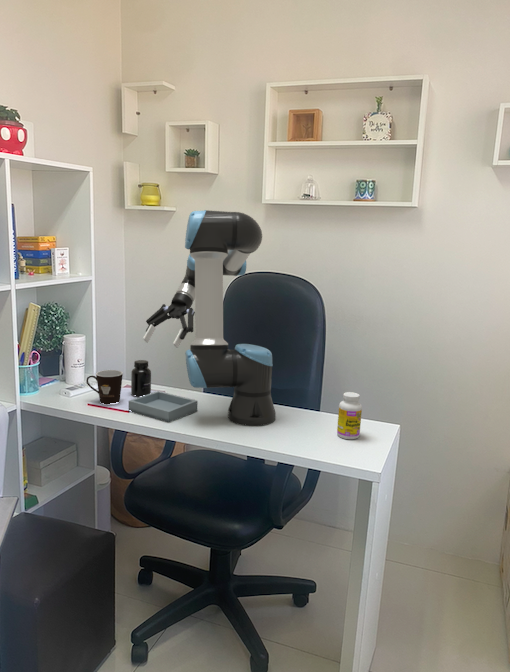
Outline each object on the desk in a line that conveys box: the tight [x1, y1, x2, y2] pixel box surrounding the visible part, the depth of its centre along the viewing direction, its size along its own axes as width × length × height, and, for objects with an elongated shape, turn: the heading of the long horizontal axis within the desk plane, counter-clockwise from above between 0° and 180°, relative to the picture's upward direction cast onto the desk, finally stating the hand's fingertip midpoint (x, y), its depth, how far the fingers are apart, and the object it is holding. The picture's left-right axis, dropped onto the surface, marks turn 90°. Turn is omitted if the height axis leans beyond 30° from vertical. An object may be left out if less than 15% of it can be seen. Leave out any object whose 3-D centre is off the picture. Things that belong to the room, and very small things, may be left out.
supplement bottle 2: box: [336, 391, 363, 440], centre depth 163 cm, size 7×7×13 cm
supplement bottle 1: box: [130, 359, 152, 397], centre depth 195 cm, size 7×7×12 cm
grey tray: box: [128, 390, 199, 424], centre depth 180 cm, size 17×14×4 cm
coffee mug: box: [85, 369, 124, 404], centre depth 187 cm, size 12×9×10 cm
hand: (160, 343), depth 203 cm, fingers open, 13 cm apart
